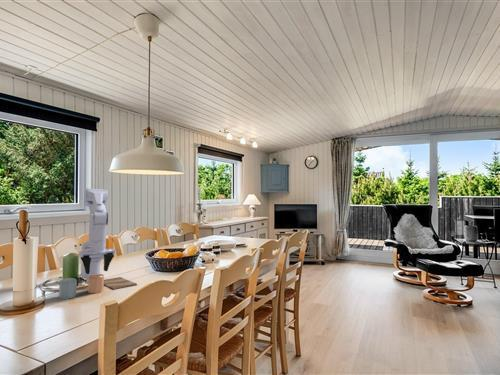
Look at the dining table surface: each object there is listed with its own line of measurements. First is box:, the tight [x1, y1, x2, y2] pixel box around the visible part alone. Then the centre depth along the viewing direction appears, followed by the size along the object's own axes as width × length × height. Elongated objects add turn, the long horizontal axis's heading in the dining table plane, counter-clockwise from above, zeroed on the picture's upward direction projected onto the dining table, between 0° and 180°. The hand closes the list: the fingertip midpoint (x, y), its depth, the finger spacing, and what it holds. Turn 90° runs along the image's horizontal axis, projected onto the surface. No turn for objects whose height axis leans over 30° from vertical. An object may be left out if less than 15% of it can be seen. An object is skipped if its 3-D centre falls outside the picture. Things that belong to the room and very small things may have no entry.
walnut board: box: [104, 276, 138, 291], centre depth 146 cm, size 16×11×1 cm
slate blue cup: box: [58, 277, 78, 300], centre depth 126 cm, size 6×6×7 cm
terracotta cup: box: [87, 273, 105, 294], centre depth 134 cm, size 6×6×7 cm
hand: (96, 272), depth 134 cm, fingers open, 7 cm apart
